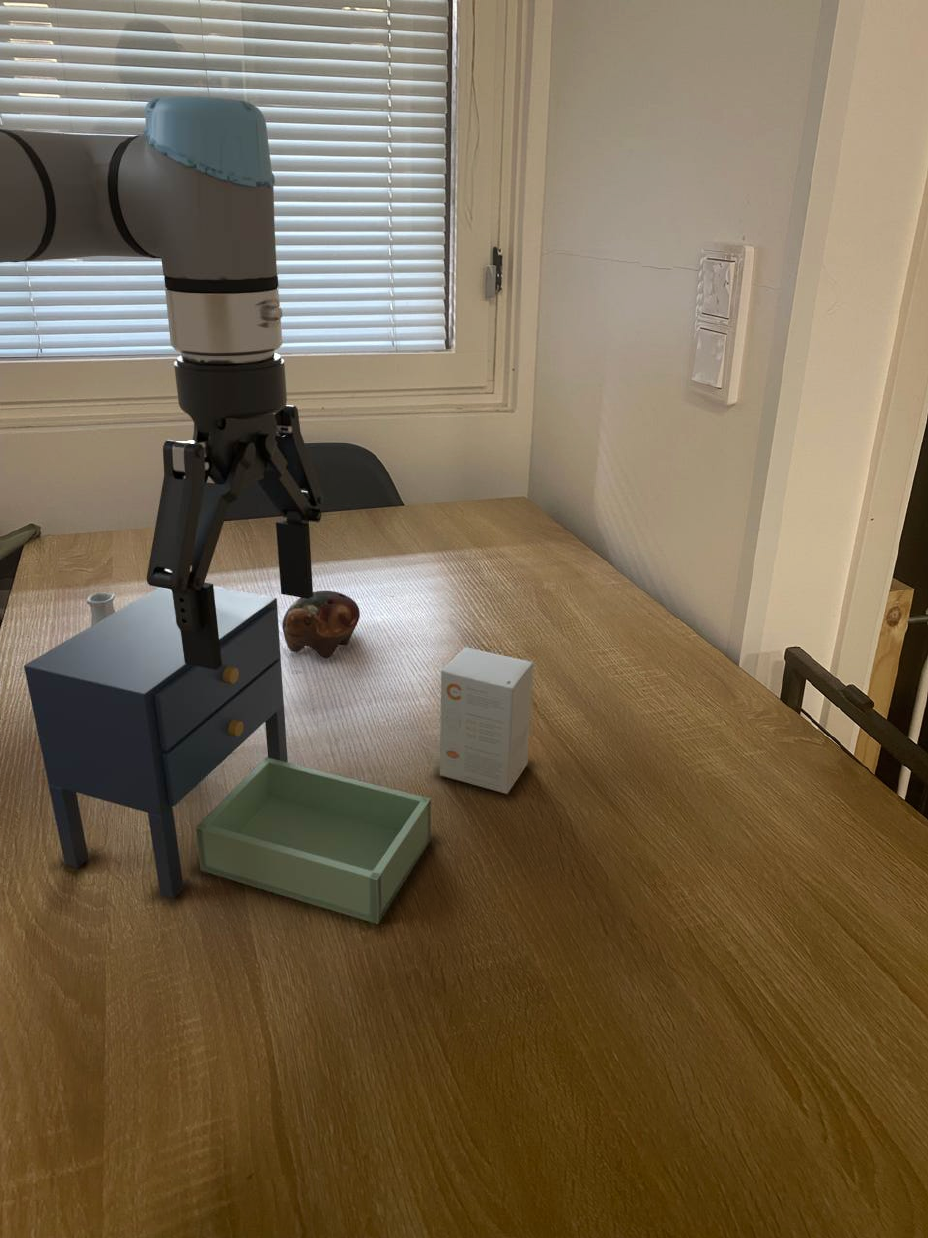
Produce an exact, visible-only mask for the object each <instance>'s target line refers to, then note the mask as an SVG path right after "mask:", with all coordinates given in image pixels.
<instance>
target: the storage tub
mask: <svg viewBox="0 0 928 1238" xmlns="http://www.w3.org/2000/svg"><path fill="white" fill-rule="evenodd" d="M431 816H432V799H431V798H430V797H426V796H421V795H417V794H413V793H409V792H406V791H403V790H398V789H394V788H389V787H386V786H382V785H378V784H374V783H370V782H366V781H362V780H357V779H354V778H349V777H346V776H342V775H338V774H334V773H329V772H326V771H323V770H318V769H314V768H310V767H306V766H302V765H298V764H295V763H292V762H288V763H287V762H283V761H279V760H275V759H271V758H268V756H267V757H265V758H264V759H263V760H262V761H261V762H260V763H259V764H258V765H256V767H255V768H253V770H251V772H250V773H249V774H248V775H247V776H246V777H245V778H244V779H242V781H241V782H239V784H238V785H236V787H235V788H233V790H231V792H230V793H229V794H227V796H225V798H223V800H221V802H220V803H218V805H217V806H216V807H214V808H213V810H211V811H210V812H209V813H208V814H207V816H205V818H203V820H202V821H201V822H199V823H198V824H197V825H196V826H195V833H196V841H197V849H198V851H197V852H198V857H199V868H200V871H201V872H204V873H208V874H212V875H215V876H217V877H221V878H224V879H228V880H231V881H234V882H237V883H241V884H243V885H248V886H250V887H254V888H257V889H260V890H263V891H267V892H270V893H273V894H277V895H280V896H283V897H286V898H287V897H288V898H290V899H293V900H297V901H300V902H303V903H306V904H310V905H313V906H317V907H320V908H323V909H326V910H330V911H333V912H337V913H339V914H343V915H346V916H349V917H353V918H355V919H356V918H357V919H359V920H362V921H366V922H369V923H373V924H376V925H379V923H380V922H381V920H382V919H383V917H384V915H385V914H386V912H387V910H388V909H389V907H390V906H391V904H392V903H393V901H394V899H395V898H396V896H397V894H399V891H400V889H401V888H402V886H403V885H404V883H405V882H406V880H407V878H408V877H409V875H410V874H411V872H412V870H413V869H414V867H415V866H416V864H417V862H418V861H419V859H420V858H421V856H422V854H424V851H425V849H426V848H427V846H428V845H429V843H430V842H431V824H432V823H431V819H432V818H431Z"/></svg>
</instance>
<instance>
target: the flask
mask: <svg viewBox="0 0 928 1238" xmlns="http://www.w3.org/2000/svg"><path fill="white" fill-rule="evenodd" d="M115 597H116V594H114V593H112V592H108V591H105V592H104V591H103V592H95V593H93V594H90V595H88V596H87V599H86V604H87V605H89V607H90V615H91V617H90V627H91V626H92V625H94V624H96V623H98V622H99V621H101V620H103V619H104V618H106V617H108V616H109V615H111V614H113V613H115V612H116V610H115V605H114V601H115Z"/></svg>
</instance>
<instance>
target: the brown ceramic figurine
mask: <svg viewBox="0 0 928 1238" xmlns="http://www.w3.org/2000/svg"><path fill="white" fill-rule="evenodd" d="M360 616H361V612H360V608H359V605H358V603H357V602H355V600H354V599H352V598H351V597H350V596H348V595H346V594H344V593H341V592H338V591H334V590H317V591H313V596H312V597H311V598H309V599H306V598H301V597H298V599H297V600H295V601H294V602H293V603H292V604H291V605H290V606H289V608H288V609H287V611H286V612H285V615H284V616H283V619H282V623H281V624H282V625H281V626H282V633H283V637H284V641H285V643H286V646H287V648H288V649H289V650H290V652H293V653H298V652H300V651H302V650H303V649H304V648H305V647H308V648H310V649H312V650H313V651H314V652H315V653H316V654H317V655H318V656H319V657H320V658H322V659H323V660H324V659H325V660H328V659H329V658H331V656H333V654H334V653H335V652H336V650H337V648H338V647H339V646H340V647H346V646H347V645H349V643H350V640H351V638H352V636H353V634H354V632H355V629H356V627H357V626H358V624H359V620H360V618H361V617H360Z"/></svg>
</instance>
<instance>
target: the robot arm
mask: <svg viewBox="0 0 928 1238" xmlns="http://www.w3.org/2000/svg"><path fill="white" fill-rule="evenodd" d="M144 119H145V126H144V130H143V133H144V134H143V133H142V134H137V135H112V134H109V135H106V134H78V133H65V132H61V133H60V132H50V131H37V130H36V131H33V130H20V129H2V128H0V264H2V263H20V262H36V261H51V260H67V259H76V258H77V259H79V258H90V257H127V258H128V257H130V258H150V259H161V266H162V267H161V268H162V275H163V276H164V277H163V280H164V291H165V301H166V313H167V321H168V330H169V341H170V346H171V347H172V348H173V349H174V350H175V351H176V352H179V353H180V354H181V355H179V356H178V357H176V360H175V361H174V362H173V367H174V375H175V384H176V392H177V401H178V406H179V409H181V411H182V412H184V414H187V415H188V416H189V417H190V418H191V420H192V421H193V435H192V440H187V441H182V440H181V441H180V440H172V439H167V440H165V442H164V443H163V445H162V460H163V480H162V486H161V490H160V497H159V504H158V509H157V515H156V520H155V526H154V531H153V536H152V537H153V538H152V544H151V550H150V555H149V562H148V565H147V566H148V567H147V573H146V582H147V584H148V586H150V587H155V588H157V587H160V588H166V589H171V590H172V594H173V601H174V609H175V616H176V624H177V626H178V628H179V629H180V630H181V638H182V645H183V653H184V661H185V664H190V665H195V666H199V667H204V668H209V669H213V670H217V669H218V668H220V667H221V666H222V660H221V651H220V642H219V633H218V624H217V615H216V606H215V597H214V587H213V586H214V583H209V582H206V579H207V576H208V573H209V570H210V567H211V564H212V559H213V557H214V554H215V551H216V547H217V544H218V542H219V538H220V535H221V532H222V530H223V526H224V523H225V521H226V516H227V514H228V511H229V506H230V505H231V503H234V502H236V501H237V500H238V498H239V496H240V493H241V490H242V489H245V488H246V487H248V486H249V485H250V484H251V483H252V482H256V483H257V484H258V485H259V486H260V488H261V489H262V491H263V492H264V494H265V495H266V496H267V498H268V499H269V501H270V502H271V503H272V504H273V506H274V507H275V509H276V510H277V511H278V513H279V514H280V515H281V517H282V518H286V519H284V520H283V519H279V520H278V521H276V522H275V530H276V532H275V533H276V543H277V558H278V571H279V584H280V594H281V595H284V596H290V597H296V598H306V599H309V598H311V597H312V596H313V592H314V585H313V584H314V583H313V571H312V570H313V569H312V554H311V553H312V552H311V535H310V534H311V533H310V522H312V523H320V522H321V519H322V514H323V512H322V509H321V507H322V506H323V504H324V495H323V492H322V489H321V486H320V484H319V480H318V478H317V475H316V472H315V469H314V466H313V463H312V461H311V458H310V454H309V451H308V450H307V449H308V448H307V447H306V444H305V441H304V438H303V435H302V432H301V424H300V417H299V416H300V415H299V409H298V407H297V406H295V405H289V404H287V402H288V395H287V383H286V382H287V381H286V379H287V378H286V364H285V360H284V358H282V356H281V355H280V354H279V353H277V352H275V351H276V350H278V349H279V348H280V347H281V346H282V345H283V332H282V320H281V319H282V318H283V309H282V308H281V305H280V293H279V274H278V266H277V247H276V230H275V229H276V228H275V225H276V224H275V194H274V193H275V192H274V186H275V185H276V184H275V183H276V180H275V179H276V178H275V175H274V173H273V170H272V162H271V154H270V145H269V139H268V128H267V122H266V118H265V116H264V113H263V112H262V111H261V109H260V108H259V107H257V106H256V105H255V104H253V103H251V102H249V101H246V100H242V99H236V98H225V97H214V96H213V97H211V96H184V95H183V96H182V95H181V96H177V95H176V96H174V95H173V96H164V97H154V98H152V99H150V100H149V101H148V102H147V104H146V105H145V109H144ZM209 479H210V480H211V481H212V482H208V480H209ZM303 489H305V490H303Z"/></svg>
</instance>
